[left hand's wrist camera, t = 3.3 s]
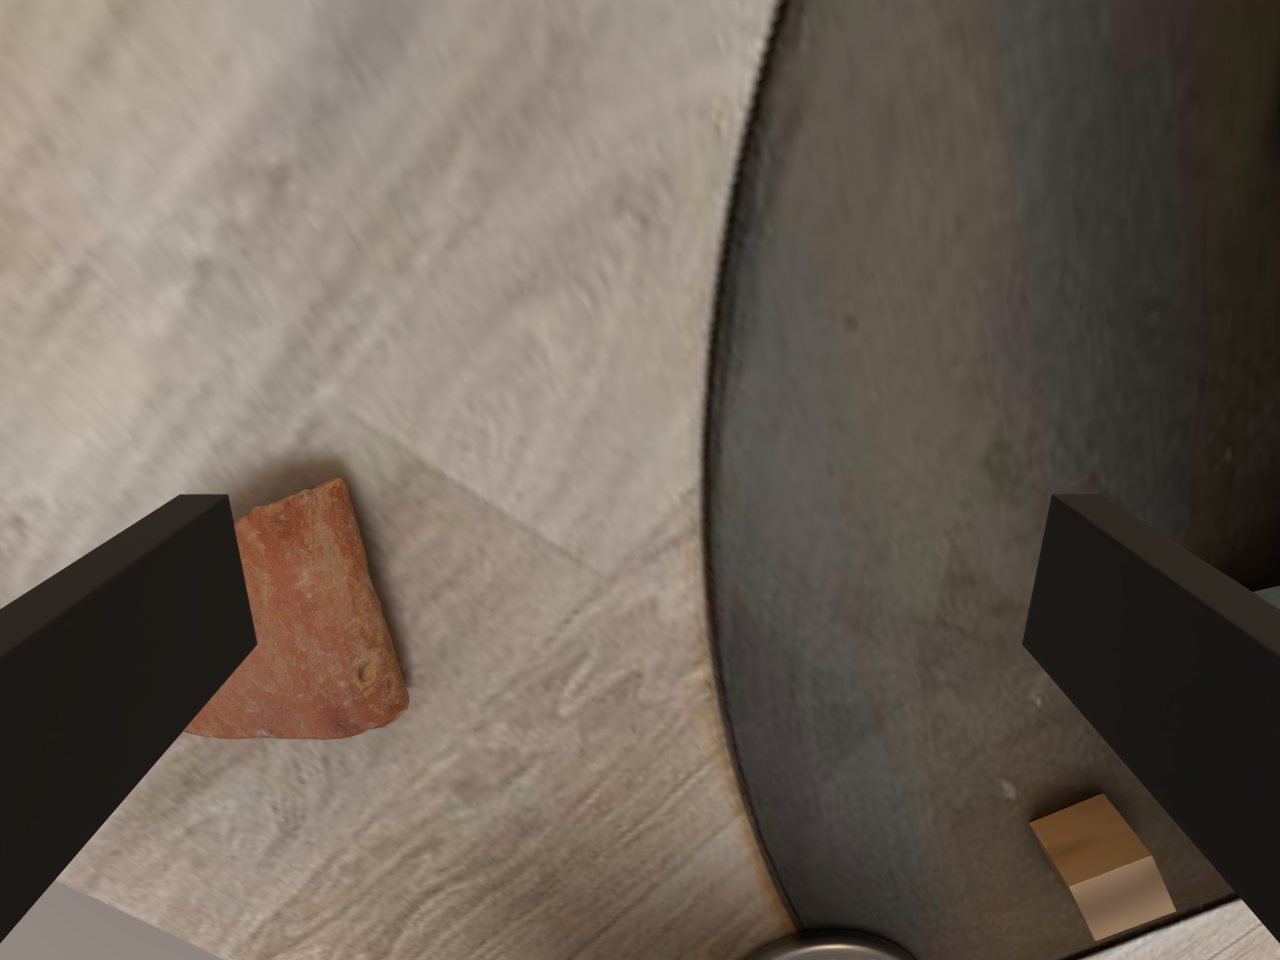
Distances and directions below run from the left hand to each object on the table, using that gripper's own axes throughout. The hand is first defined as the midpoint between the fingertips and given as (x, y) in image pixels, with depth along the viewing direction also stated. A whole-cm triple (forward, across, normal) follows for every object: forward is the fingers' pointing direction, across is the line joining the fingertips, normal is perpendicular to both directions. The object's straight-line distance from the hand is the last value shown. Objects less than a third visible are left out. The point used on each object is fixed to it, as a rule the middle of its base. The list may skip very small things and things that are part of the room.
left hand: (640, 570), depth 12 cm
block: (+28, -29, +33) cm, 52 cm away
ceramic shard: (+28, +22, +16) cm, 39 cm away
